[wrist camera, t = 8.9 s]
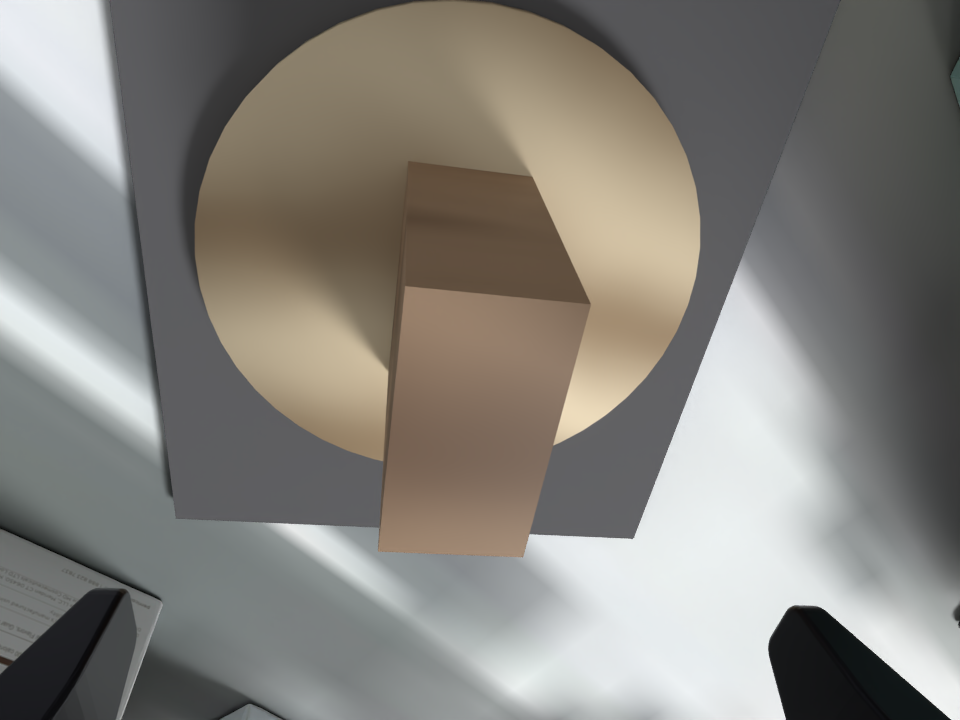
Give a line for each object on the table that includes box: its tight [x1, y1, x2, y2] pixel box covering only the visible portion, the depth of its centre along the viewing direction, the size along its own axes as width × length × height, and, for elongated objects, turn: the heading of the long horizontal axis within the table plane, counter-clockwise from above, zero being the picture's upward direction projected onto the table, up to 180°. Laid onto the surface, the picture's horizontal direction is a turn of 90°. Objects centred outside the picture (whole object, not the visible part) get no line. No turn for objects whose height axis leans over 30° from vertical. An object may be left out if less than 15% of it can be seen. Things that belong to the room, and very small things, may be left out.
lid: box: [195, 0, 700, 557], centre depth 15 cm, size 13×13×7 cm
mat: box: [110, 0, 841, 539], centre depth 19 cm, size 20×16×1 cm
